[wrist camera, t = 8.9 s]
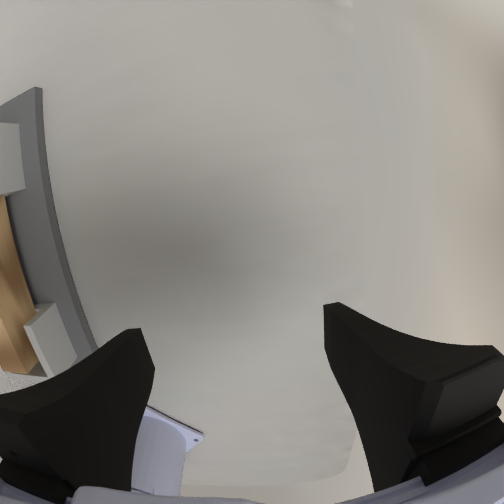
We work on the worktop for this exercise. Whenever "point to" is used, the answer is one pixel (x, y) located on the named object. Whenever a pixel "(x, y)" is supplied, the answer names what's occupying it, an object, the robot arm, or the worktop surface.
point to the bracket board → (40, 242)
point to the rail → (13, 304)
